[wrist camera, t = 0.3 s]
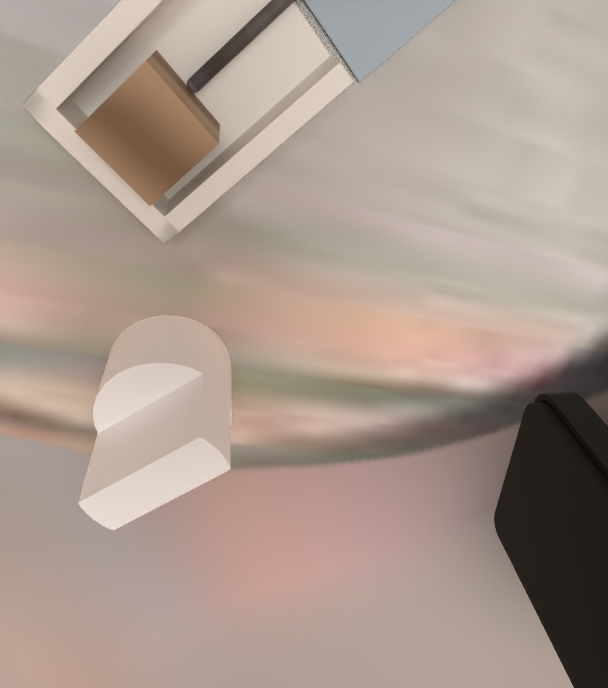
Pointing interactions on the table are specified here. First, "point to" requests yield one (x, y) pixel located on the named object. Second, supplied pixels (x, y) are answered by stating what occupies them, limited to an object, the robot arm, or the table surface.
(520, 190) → the table surface
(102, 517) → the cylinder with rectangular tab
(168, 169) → the rod with block end
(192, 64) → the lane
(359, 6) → the mat
